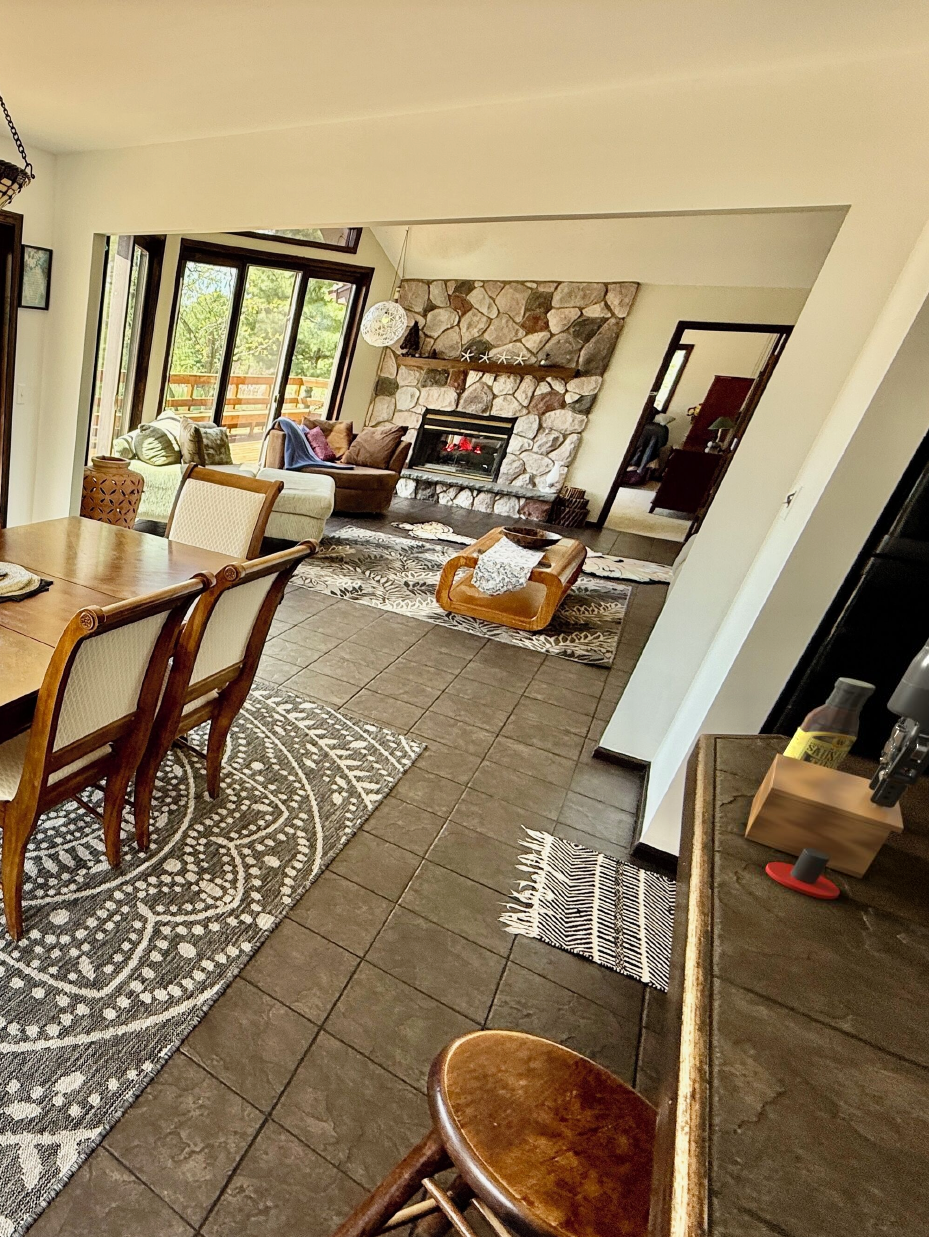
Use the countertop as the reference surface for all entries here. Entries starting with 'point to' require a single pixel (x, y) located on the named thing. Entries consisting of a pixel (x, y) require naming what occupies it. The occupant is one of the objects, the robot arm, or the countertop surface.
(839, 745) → the sauce bottle
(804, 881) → the pan lid
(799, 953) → the countertop surface
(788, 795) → the chest lid
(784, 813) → the chest
